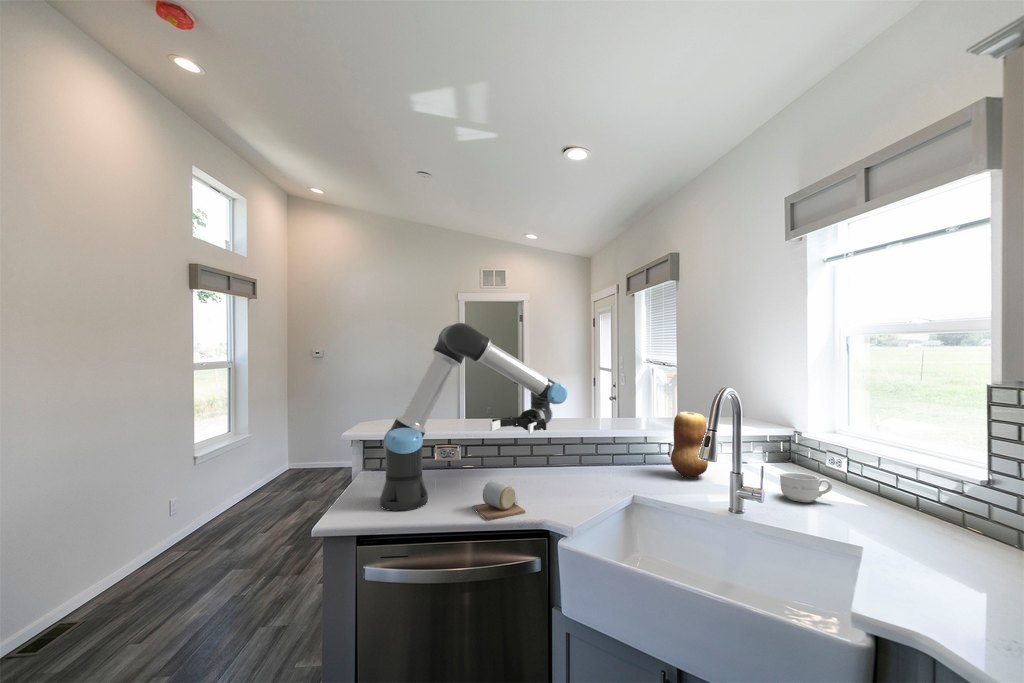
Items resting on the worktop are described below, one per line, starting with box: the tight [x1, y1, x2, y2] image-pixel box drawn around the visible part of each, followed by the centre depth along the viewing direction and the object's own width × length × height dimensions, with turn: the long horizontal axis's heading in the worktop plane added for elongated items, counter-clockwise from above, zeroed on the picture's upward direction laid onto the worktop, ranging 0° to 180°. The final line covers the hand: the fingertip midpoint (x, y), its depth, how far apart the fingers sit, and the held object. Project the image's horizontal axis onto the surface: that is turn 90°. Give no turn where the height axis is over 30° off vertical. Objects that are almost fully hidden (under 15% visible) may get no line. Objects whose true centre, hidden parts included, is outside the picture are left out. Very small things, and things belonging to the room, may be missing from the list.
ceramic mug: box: [482, 479, 519, 510], centre depth 135 cm, size 11×8×8 cm
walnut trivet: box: [472, 502, 526, 522], centre depth 133 cm, size 12×13×1 cm
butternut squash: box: [669, 411, 709, 478], centre depth 168 cm, size 14×13×25 cm
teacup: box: [779, 472, 833, 503], centre depth 139 cm, size 14×11×8 cm
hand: (509, 428), depth 142 cm, fingers open, 13 cm apart
